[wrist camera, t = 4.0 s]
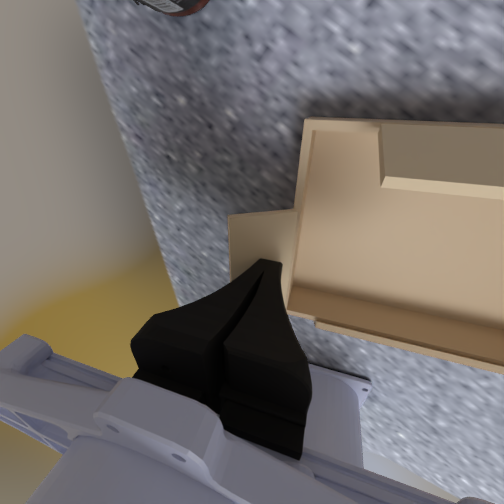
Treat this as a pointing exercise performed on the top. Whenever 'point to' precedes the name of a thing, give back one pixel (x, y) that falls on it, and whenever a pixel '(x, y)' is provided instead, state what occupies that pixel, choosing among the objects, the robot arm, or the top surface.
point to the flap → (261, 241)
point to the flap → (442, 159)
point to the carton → (394, 252)
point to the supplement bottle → (174, 6)
